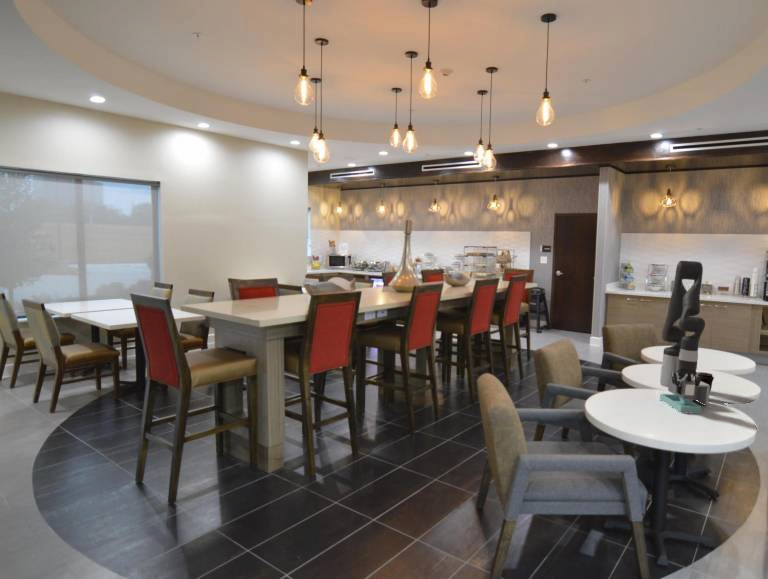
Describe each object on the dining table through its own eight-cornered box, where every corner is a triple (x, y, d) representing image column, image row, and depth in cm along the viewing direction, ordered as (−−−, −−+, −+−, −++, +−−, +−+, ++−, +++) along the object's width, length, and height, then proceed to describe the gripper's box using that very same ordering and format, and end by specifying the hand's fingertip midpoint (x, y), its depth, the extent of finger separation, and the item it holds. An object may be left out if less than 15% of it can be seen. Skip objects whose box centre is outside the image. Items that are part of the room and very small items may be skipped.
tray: (659, 399, 254) (660, 393, 253) (678, 400, 254) (679, 394, 253) (680, 412, 236) (681, 406, 235) (700, 413, 236) (701, 406, 235)
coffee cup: (710, 402, 253) (713, 376, 251) (691, 398, 258) (693, 373, 256) (712, 398, 260) (714, 373, 258) (693, 394, 265) (695, 370, 263)
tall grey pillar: (668, 390, 251) (669, 374, 250) (678, 390, 251) (679, 375, 250) (683, 399, 237) (685, 382, 237) (694, 399, 237) (696, 382, 237)
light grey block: (678, 399, 255) (680, 379, 254) (697, 400, 255) (699, 380, 254) (688, 405, 247) (691, 384, 246) (707, 406, 247) (710, 385, 246)
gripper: (698, 357, 243) (695, 392, 245) (668, 356, 243) (665, 391, 245) (708, 361, 235) (704, 397, 237) (677, 360, 235) (674, 396, 237)
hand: (684, 393), depth 241 cm, fingers closed on tall grey pillar, 5 cm apart
